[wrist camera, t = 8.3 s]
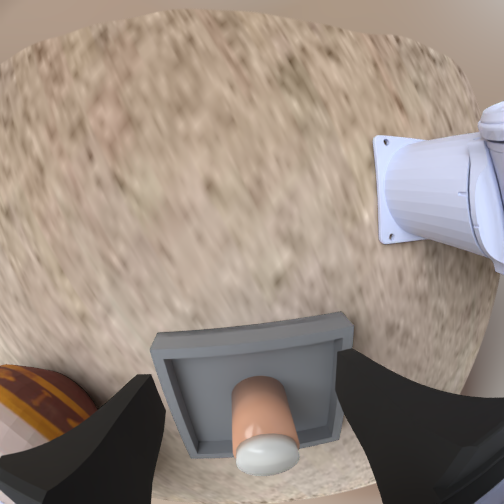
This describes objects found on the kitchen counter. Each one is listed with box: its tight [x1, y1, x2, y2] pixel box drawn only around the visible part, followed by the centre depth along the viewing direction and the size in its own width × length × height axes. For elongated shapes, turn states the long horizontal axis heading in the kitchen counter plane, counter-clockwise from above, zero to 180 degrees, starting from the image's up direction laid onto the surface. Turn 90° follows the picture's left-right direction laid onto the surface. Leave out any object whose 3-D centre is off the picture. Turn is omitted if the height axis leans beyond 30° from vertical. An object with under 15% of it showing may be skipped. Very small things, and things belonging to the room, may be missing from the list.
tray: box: [150, 312, 354, 458], centre depth 20 cm, size 14×13×2 cm
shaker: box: [231, 376, 300, 476], centre depth 17 cm, size 4×4×7 cm
